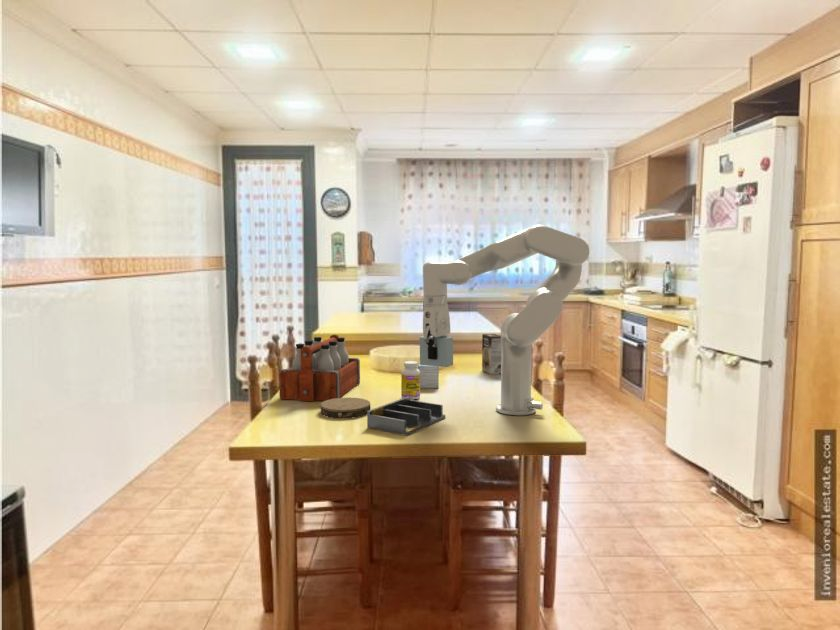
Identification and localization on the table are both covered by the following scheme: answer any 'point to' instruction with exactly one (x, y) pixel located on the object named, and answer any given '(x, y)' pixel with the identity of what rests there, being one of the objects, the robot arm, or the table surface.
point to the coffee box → (491, 353)
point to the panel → (438, 352)
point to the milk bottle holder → (320, 371)
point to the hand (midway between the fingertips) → (436, 357)
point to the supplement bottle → (410, 380)
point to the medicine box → (429, 376)
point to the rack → (404, 416)
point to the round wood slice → (345, 407)
